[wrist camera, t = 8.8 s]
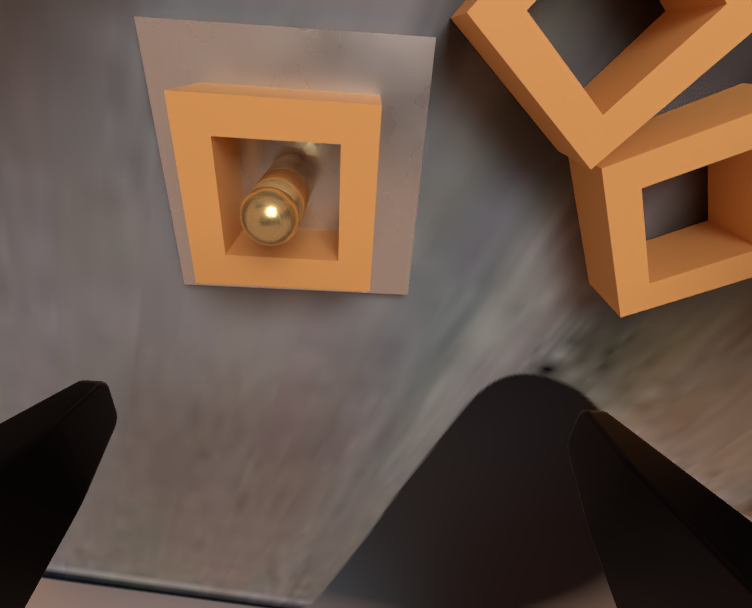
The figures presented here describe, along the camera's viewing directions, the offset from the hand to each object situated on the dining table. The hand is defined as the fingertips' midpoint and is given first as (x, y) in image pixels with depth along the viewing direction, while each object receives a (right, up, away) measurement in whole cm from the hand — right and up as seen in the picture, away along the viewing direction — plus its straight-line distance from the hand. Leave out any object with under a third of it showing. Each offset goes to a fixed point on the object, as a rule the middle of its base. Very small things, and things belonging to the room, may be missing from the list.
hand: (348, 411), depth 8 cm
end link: (-3, +7, +9) cm, 12 cm away
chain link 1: (+8, +12, +7) cm, 16 cm away
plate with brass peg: (-3, +7, +9) cm, 12 cm away
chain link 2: (+12, +7, +10) cm, 17 cm away
